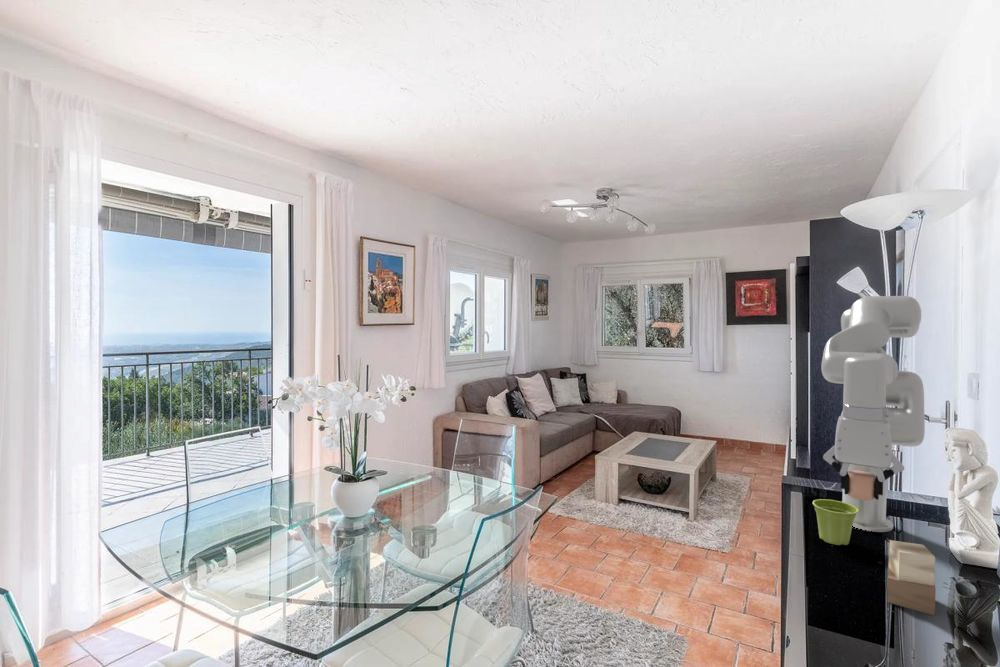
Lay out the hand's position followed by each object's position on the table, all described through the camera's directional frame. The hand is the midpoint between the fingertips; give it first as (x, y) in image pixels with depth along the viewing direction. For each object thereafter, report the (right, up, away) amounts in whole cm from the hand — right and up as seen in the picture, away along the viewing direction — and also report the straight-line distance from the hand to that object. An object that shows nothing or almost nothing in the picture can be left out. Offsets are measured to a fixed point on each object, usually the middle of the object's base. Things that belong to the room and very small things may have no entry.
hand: (861, 494), depth 112 cm
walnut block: (0, -17, -13) cm, 21 cm away
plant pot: (+3, -16, +14) cm, 21 cm away
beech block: (+1, -12, -13) cm, 18 cm away
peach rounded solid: (0, 0, 0) cm, 0 cm away
